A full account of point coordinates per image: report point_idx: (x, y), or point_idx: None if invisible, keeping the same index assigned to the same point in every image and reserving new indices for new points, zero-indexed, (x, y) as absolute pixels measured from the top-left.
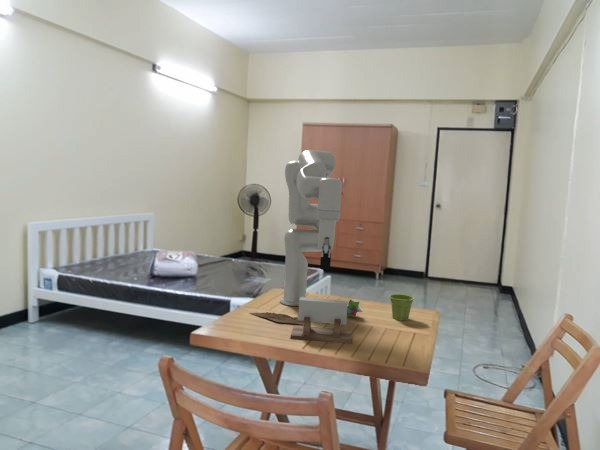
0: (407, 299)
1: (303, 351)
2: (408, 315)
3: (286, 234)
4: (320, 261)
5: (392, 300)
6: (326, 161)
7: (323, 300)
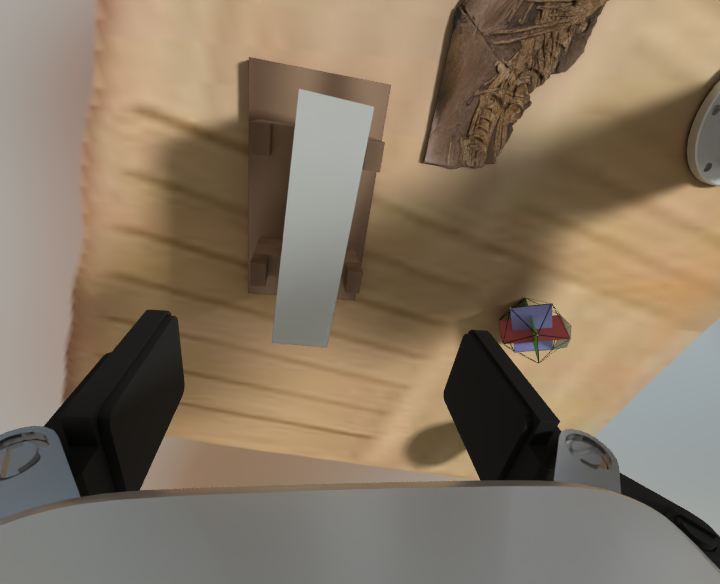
0: None
1: (100, 107)
2: None
3: None
4: (104, 363)
5: None
6: None
7: (315, 241)
